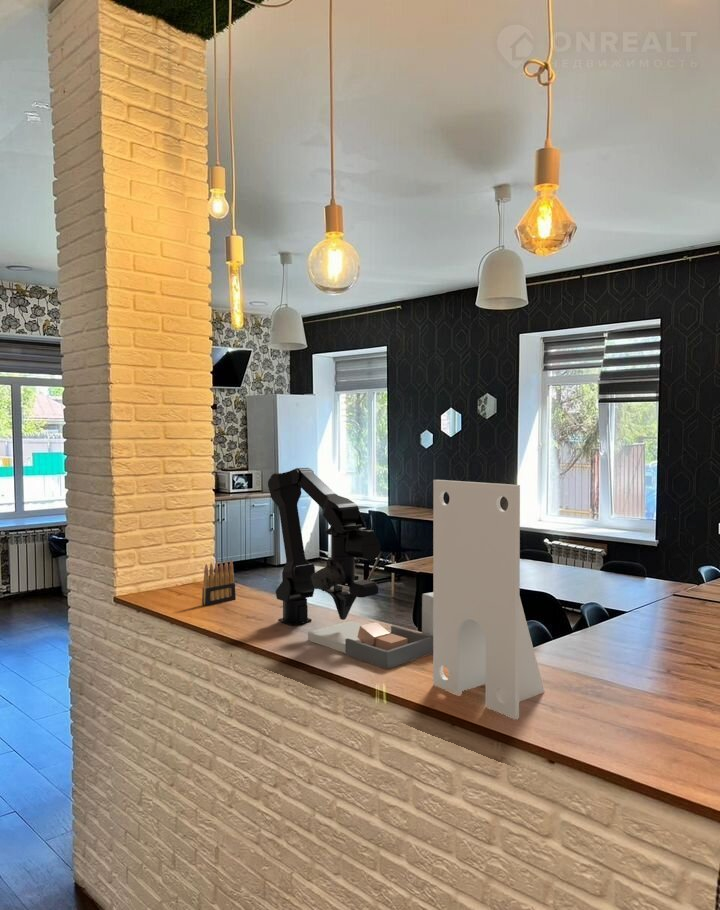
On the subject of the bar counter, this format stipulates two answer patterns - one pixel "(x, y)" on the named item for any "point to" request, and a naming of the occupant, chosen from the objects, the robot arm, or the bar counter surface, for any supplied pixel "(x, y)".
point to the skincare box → (427, 613)
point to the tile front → (390, 641)
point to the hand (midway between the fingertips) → (342, 619)
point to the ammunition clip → (218, 584)
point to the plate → (336, 635)
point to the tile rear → (371, 633)
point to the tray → (412, 650)
